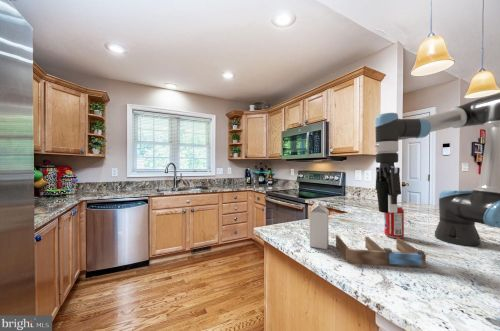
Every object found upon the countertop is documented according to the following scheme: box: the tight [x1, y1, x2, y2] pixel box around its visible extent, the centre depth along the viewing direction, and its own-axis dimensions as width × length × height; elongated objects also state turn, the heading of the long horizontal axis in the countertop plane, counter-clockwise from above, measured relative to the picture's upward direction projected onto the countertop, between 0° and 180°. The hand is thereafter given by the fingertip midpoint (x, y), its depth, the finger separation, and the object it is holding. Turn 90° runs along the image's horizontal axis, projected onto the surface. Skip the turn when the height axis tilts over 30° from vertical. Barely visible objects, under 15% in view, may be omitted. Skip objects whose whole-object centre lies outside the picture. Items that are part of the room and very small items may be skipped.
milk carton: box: [309, 200, 330, 250], centre depth 90 cm, size 7×7×19 cm
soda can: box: [383, 204, 405, 239], centre depth 101 cm, size 8×8×15 cm
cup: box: [375, 180, 389, 213], centre depth 83 cm, size 8×8×12 cm
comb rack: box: [335, 234, 427, 269], centre depth 80 cm, size 25×17×6 cm
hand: (387, 210), depth 83 cm, fingers closed on cup, 8 cm apart
